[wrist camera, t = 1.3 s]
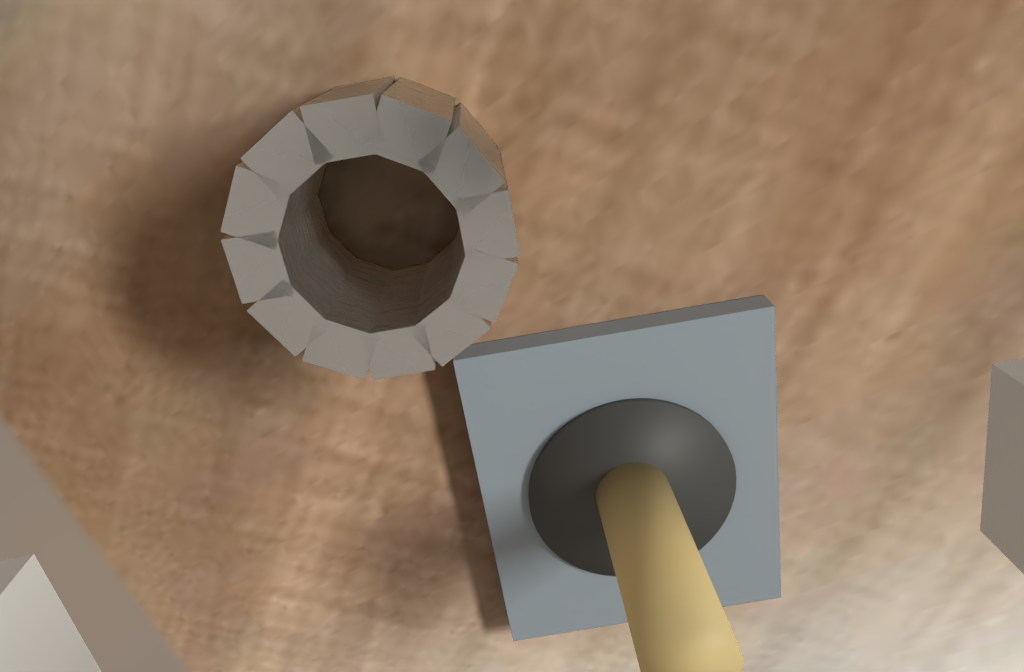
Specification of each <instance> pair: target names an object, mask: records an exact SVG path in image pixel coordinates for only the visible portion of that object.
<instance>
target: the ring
mask: <svg viewBox="0 0 1024 672" xmlns="http://www.w3.org/2000/svg"><path fill="white" fill-rule="evenodd" d="M455 99H456V98H454V97H451V96H449V95H446V94H443V93H441V92H438V91H436V90H433V89H430V88H428V87H425V86H423V85H420V84H417V83H415V82H412V81H410V80H407V79H405V78H402V77H401V78H400V79H399V80H398V81H396V82H395V78H394V77H389V78H383V79H377V80H372V81H366V82H360V83H355V84H349V85H343V86H338V87H336V88H334V89H332V90H330V91H328V92H326V93H324V94H322V95H320V96H318V97H316V98H314V99H312V100H311V101H309V102H307V103H305V104H303V105H301V106H299V107H297V108H295V109H293V110H292V111H290V112H289V113H288V114H287V115H286V116H285V117H284V118H283V119H282V120H281V121H280V122H279V123H278V124H276V125H275V126H274V127H273V128H272V129H271V130H270V131H269V132H268V133H267V134H266V135H265V136H264V137H263V138H261V139H260V140H259V141H258V142H257V143H256V144H255V145H254V146H253V147H252V148H251V149H250V150H249V151H247V152H246V153H245V154H244V155H243V156H242V157H241V158H240V159H241V160H242V161H243V162H241V163H239V164H238V165H236V168H235V172H234V176H233V180H232V185H231V189H230V193H229V197H228V201H227V206H226V210H225V214H224V218H223V223H222V227H221V231H220V232H223V233H226V234H227V235H226V236H225V237H224V238H223V239H221V242H222V245H223V248H224V251H225V254H226V257H227V260H228V263H229V266H230V269H231V272H232V275H233V278H234V281H235V284H236V287H237V290H238V293H239V296H240V299H241V302H242V304H244V303H250V302H253V303H252V304H251V306H250V307H249V308H248V310H247V312H248V313H249V314H250V315H251V316H252V317H254V318H255V319H256V320H257V321H258V322H259V323H260V324H261V325H262V326H263V327H264V328H265V329H266V330H267V331H268V332H269V333H270V334H272V335H273V336H274V337H275V338H276V339H277V340H278V341H279V342H280V343H281V344H282V345H283V346H284V347H285V348H286V349H287V350H288V351H290V352H291V353H292V354H293V355H294V356H297V355H298V354H299V353H300V352H301V351H303V350H304V349H305V348H306V350H305V353H304V357H303V360H302V361H304V362H308V363H311V364H314V365H317V366H321V367H324V368H327V369H331V370H334V371H337V372H340V373H344V374H347V375H350V376H354V377H357V378H360V379H363V380H365V378H366V375H367V372H368V369H369V368H370V372H371V376H372V380H378V379H384V378H390V377H396V376H402V375H408V374H414V373H420V372H425V371H431V370H435V366H436V361H437V362H438V363H439V364H440V365H441V366H442V367H443V366H444V365H445V364H446V363H448V362H449V361H450V360H452V359H453V358H454V357H455V356H457V355H458V354H459V353H460V352H462V351H463V350H464V349H466V348H467V347H468V346H469V345H471V344H472V343H473V342H475V341H476V340H477V339H478V338H480V337H481V336H482V335H484V334H485V333H486V332H487V331H489V330H490V329H491V322H490V321H492V322H495V323H496V320H497V318H498V315H499V313H500V310H501V308H502V305H503V303H504V300H505V298H506V295H507V293H508V290H509V288H510V285H511V282H512V280H513V277H514V275H515V272H516V270H517V267H518V265H519V263H518V258H517V257H518V256H520V255H519V249H518V243H517V237H516V231H515V225H514V219H513V213H512V207H511V201H510V195H509V189H508V185H507V180H506V176H505V171H504V167H503V163H502V158H501V154H500V153H499V151H498V147H497V145H496V144H495V143H494V142H493V141H492V139H491V138H490V137H489V136H488V134H487V133H486V132H485V131H484V130H483V128H482V127H481V126H480V125H479V123H478V122H477V121H476V120H475V118H474V117H473V116H472V115H471V114H470V112H469V111H468V110H467V109H466V107H465V106H464V105H463V104H462V103H460V104H459V105H458V106H457V107H456V108H455V109H454V105H455ZM373 154H376V155H379V156H382V157H385V158H387V159H390V160H393V161H396V162H398V163H401V164H404V165H407V166H409V167H412V168H415V169H418V170H420V171H423V172H424V173H425V174H426V175H427V176H428V177H429V178H430V180H431V181H432V182H433V183H434V184H435V185H436V187H437V188H438V189H439V190H440V191H441V192H442V193H443V195H444V196H445V197H446V198H447V199H448V200H449V202H450V203H451V204H452V205H453V206H454V207H455V208H456V210H457V215H458V220H459V228H458V231H457V234H456V236H455V239H454V241H453V242H451V243H450V244H449V245H448V246H447V247H445V248H444V249H443V250H442V251H441V252H439V253H438V254H437V255H436V256H434V257H433V258H432V259H431V260H430V261H428V262H427V263H425V264H419V265H413V266H407V267H401V268H396V269H388V268H385V267H382V266H379V265H376V264H373V263H370V262H367V261H364V260H361V259H358V258H355V257H354V256H353V255H352V254H351V253H350V252H349V251H348V250H347V249H346V248H345V247H344V246H343V245H342V244H341V243H340V242H339V241H338V240H337V239H336V237H335V236H334V235H333V234H332V233H331V232H330V231H329V230H328V227H327V223H326V220H325V216H324V212H323V209H322V205H321V201H320V197H319V194H318V192H319V189H320V185H321V182H322V178H323V175H324V171H325V167H326V164H327V162H333V161H339V160H344V159H350V158H356V157H362V156H367V155H373Z"/></svg>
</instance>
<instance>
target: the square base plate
mask: <svg viewBox="0 0 1024 672" xmlns="http://www.w3.org/2000/svg"><path fill="white" fill-rule="evenodd" d="M453 364H454V368H455V373H456V378H457V382H458V387H459V392H460V396H461V401H462V405H463V410H464V415H465V419H466V424H467V429H468V433H469V438H470V443H471V447H472V452H473V457H474V461H475V466H476V470H477V475H478V480H479V484H480V489H481V494H482V498H483V503H484V508H485V512H486V517H487V521H488V526H489V531H490V535H491V540H492V545H493V549H494V554H495V559H496V563H497V568H498V573H499V577H500V582H501V586H502V591H503V596H504V600H505V605H506V610H507V614H508V619H509V624H510V628H511V633H512V637H513V641H517V640H524V639H530V638H536V637H542V636H548V635H554V634H560V633H566V632H572V631H579V630H585V629H591V628H597V627H603V626H609V625H615V624H621V623H627V622H628V624H629V628H630V632H631V636H632V639H633V643H634V647H635V651H636V655H637V659H638V662H639V666H640V670H641V672H742V668H743V655H742V652H741V650H740V647H739V645H738V643H737V640H736V638H735V636H734V633H733V631H732V629H731V626H730V624H729V622H728V619H727V617H726V615H725V612H724V610H723V608H722V607H725V606H731V605H738V604H744V603H750V602H756V601H762V600H768V599H774V598H780V597H781V578H780V530H779V482H778V434H777V386H776V338H775V306H774V305H773V304H772V303H771V302H770V301H769V300H768V299H767V298H766V297H765V296H764V295H760V296H754V297H748V298H742V299H736V300H730V301H724V302H719V303H713V304H707V305H701V306H695V307H689V308H683V309H677V310H672V311H666V312H660V313H654V314H648V315H642V316H636V317H630V318H625V319H619V320H613V321H607V322H601V323H595V324H589V325H583V326H578V327H572V328H566V329H560V330H554V331H548V332H542V333H536V334H530V335H525V336H519V337H513V338H507V339H501V340H495V341H489V342H483V343H478V344H472V345H469V346H468V347H467V348H466V349H464V350H463V351H462V352H460V353H459V354H458V355H457V356H455V357H454V358H453Z"/></svg>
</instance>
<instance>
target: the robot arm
mask: <svg viewBox="0 0 1024 672" xmlns="http://www.w3.org/2000/svg"><path fill="white" fill-rule="evenodd" d="M980 531H981V532H982V533H983V534H984V535H985V536H986V537H987V538H988V539H989V540H990V541H991V542H992V543H993V544H994V545H995V546H996V547H997V548H998V549H999V550H1000V551H1001V552H1002V553H1003V554H1004V555H1005V556H1006V557H1007V558H1008V559H1009V560H1010V561H1011V562H1012V563H1013V564H1014V565H1015V566H1016V567H1017V568H1018V569H1019V570H1020V571H1021V572H1022V573H1023V574H1024V358H1020V359H1015V360H1010V361H1005V362H1000V363H995V364H992V372H991V386H990V400H989V414H988V428H987V442H986V456H985V470H984V484H983V499H982V513H981V527H980ZM0 672H101V670H100V669H99V667H98V665H97V663H96V662H95V660H94V658H93V657H92V655H91V653H90V651H89V649H88V648H87V646H86V644H85V642H84V641H83V639H82V637H81V636H80V634H79V632H78V631H77V629H76V627H75V625H74V623H73V622H72V620H71V618H70V616H69V615H68V613H67V611H66V609H65V608H64V606H63V604H62V602H61V601H60V599H59V597H58V595H57V594H56V592H55V590H54V588H53V587H52V585H51V583H50V581H49V580H48V578H47V576H46V575H45V573H44V571H43V569H42V567H41V566H40V564H39V562H38V561H37V559H36V557H35V555H34V554H30V555H25V556H20V557H15V558H10V559H5V560H0Z"/></svg>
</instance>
